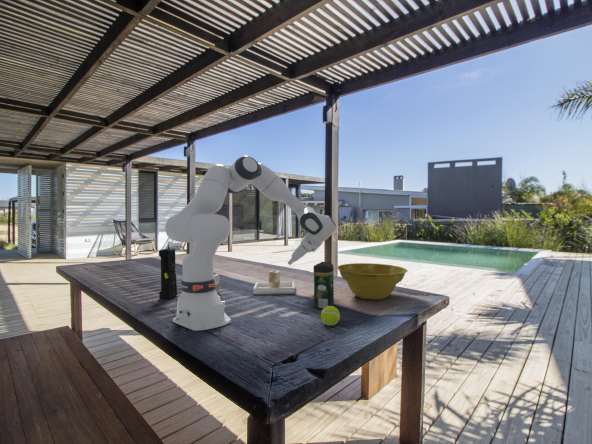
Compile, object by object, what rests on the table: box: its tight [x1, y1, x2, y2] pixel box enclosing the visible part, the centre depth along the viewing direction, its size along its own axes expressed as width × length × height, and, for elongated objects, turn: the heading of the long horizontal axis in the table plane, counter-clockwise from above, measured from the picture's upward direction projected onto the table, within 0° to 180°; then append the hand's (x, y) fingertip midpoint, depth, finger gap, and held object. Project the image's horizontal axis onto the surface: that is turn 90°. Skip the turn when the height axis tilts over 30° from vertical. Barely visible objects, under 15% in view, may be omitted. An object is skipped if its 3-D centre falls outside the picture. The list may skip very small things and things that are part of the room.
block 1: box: [213, 273, 220, 294], centre depth 156 cm, size 5×5×9 cm
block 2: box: [268, 270, 281, 288], centre depth 160 cm, size 5×5×9 cm
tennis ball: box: [320, 305, 341, 327], centre depth 109 cm, size 7×7×7 cm
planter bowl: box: [336, 262, 408, 300], centre depth 148 cm, size 32×32×13 cm
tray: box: [252, 281, 296, 295], centre depth 160 cm, size 20×14×3 cm
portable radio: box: [158, 243, 178, 300], centre depth 147 cm, size 8×6×25 cm
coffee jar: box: [313, 261, 335, 310], centre depth 131 cm, size 10×8×19 cm
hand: (291, 262), depth 158 cm, fingers open, 8 cm apart
